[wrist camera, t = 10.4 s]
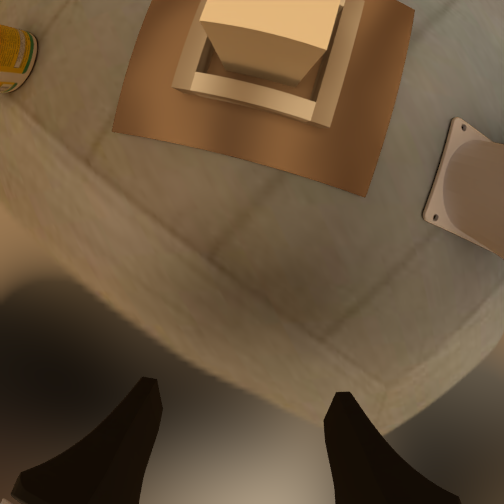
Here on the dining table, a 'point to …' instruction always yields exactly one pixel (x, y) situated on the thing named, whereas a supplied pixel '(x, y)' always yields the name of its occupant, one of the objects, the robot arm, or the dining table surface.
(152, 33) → the socket board
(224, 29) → the peg
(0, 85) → the supplement bottle
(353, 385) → the dining table surface
